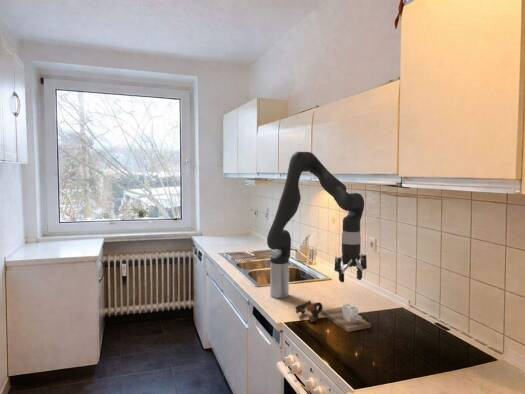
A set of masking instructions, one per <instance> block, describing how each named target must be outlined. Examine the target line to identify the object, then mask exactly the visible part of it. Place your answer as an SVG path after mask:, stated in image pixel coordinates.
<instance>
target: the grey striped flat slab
mask: <svg viewBox="0 0 525 394" xmlns="http://www.w3.org/2000/svg"><path fill="white" fill-rule="evenodd" d="M320 315H322V316H323V317H325V318H326V319H328V320H329V321H331V322H332V323H334V324H335V325H337V326H338V327H340V328H342V329H343V330H344V331H346V332H347V333H351V332H354V331H355V332H356V331H359V330H365V329H369V328H371V327H372V324H371V323H370V322H368V321H367V320H365V319H363V318H362V320H358V323H351V322H349V321H347V320H346V319H344V318H343V317H342V306H341V307H340V306H339V307H335V308H328V309H322V311H321V312H320Z"/></svg>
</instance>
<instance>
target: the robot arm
mask: <svg viewBox="0 0 525 394" xmlns="http://www.w3.org/2000/svg"><path fill="white" fill-rule="evenodd" d="M288 164H289V165H288V167H287V168H288V169H287V174H286V179H285V183H284V186H283V187H284V188H283V190H282V194H281V196H280V200H279V202H278V206H277V210H276V213H275V215H274V219H273V221H272V225H271V226H270V228H269V231H268V234H267V237H266V243H267V246H268V248H269V250H276V252H274V254H272V255H271V256H270V259H269V260H270V262H269V263H270V264H269V265H270V266H269V267H270V275H269V276H270V279H269V281H270V282H269V283H270V285H269V286H270V292H269V293H270V297H272V298H275V299H286V298H287V297H289V293H290V292H289V289H290V288H289V287H290V275H289V273H290V269H289V267H290V262H289V261H290V258H291V248H292V247H291V246H292V237H291V234H290V232H289V231H288V230H286V229H285V227H286V226H287V224H288V223H289V222H290V221H291V219H292V218H293V217H294V216H295V214H296V213H297V211H298V208H299V206H300V202H301V192H300V187H299V182H300V178H301V175H302V173H308V172H309V173H310V174H312V175H314V176H315V177H316V178H317V179H318V182H319V183H320V186H321V187H322V188H323V190H324V191H325V192H326V193H327V194H329V195H330V196H331V197H332V198H333V199H334V201H335V202H336V204H337V205H338V207H339V208H340V209H341V210H343V211H345V212H348V213H347V215H346V216H344V217H343V219H342V231H341V232H342V234H341V254H342V255H341V256H335V258H334V272H337V273H338V281H339V282H340V283H345V271H346V270H348V269H349V268H351V267H355V268H356V269H357V270H356V279H357V280H359V281H361V280H362V278H363V271H364V270H366V269H367V267H368V266H367V255H366V254H364V253H361V248H362V247H361V243H362V242H361V239H362V237H361V236H362V235H361V221H362V216H363V212H364V208H365V200H364V199H365V198H364V197H363V196H362V194H361V193H359V192H353V193H349V192H347V186H346V185H345V184H344V183H343V182H342V181H341V180H339V179H338V178H337V177H336V176H334V174H332V173H331V172H330V170H328V169H327V168H326V167H325V165H323V163H322V162H321V161H320V160H319V159H318V157H317V156H316V155H315V154H314V153H312V152H311V151H296V152H294V153H293V154H291V157H290V160H289V163H288Z"/></svg>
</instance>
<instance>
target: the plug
mask: <svg viewBox="0 0 525 394" xmlns="http://www.w3.org/2000/svg"><path fill="white" fill-rule="evenodd" d="M341 307H342V317H343V318H344V319H346V320H347V321H349V322H351V323H358V320H362V319H363V317H362V316H361V315H359V308H358V307H356V306H355V305H353V304H351V303H349V302H343V303H342V306H341Z"/></svg>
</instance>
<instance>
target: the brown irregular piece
mask: <svg viewBox="0 0 525 394" xmlns="http://www.w3.org/2000/svg"><path fill="white" fill-rule="evenodd" d="M317 307H318V309H317ZM306 309H307V311H309V312H310V313H311V316H308V320H309V323H313V322H315V321H317V320H319V314H321V311H322V310H323V304H322V303H321V302H320V301H319V302H315V303H312V302H311V300H308V301H305V302H303V303H302V304H298V305H297V306H295V313H296V314H297V315H298V314H299V313H301V314H302V315H304V314H306Z"/></svg>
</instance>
